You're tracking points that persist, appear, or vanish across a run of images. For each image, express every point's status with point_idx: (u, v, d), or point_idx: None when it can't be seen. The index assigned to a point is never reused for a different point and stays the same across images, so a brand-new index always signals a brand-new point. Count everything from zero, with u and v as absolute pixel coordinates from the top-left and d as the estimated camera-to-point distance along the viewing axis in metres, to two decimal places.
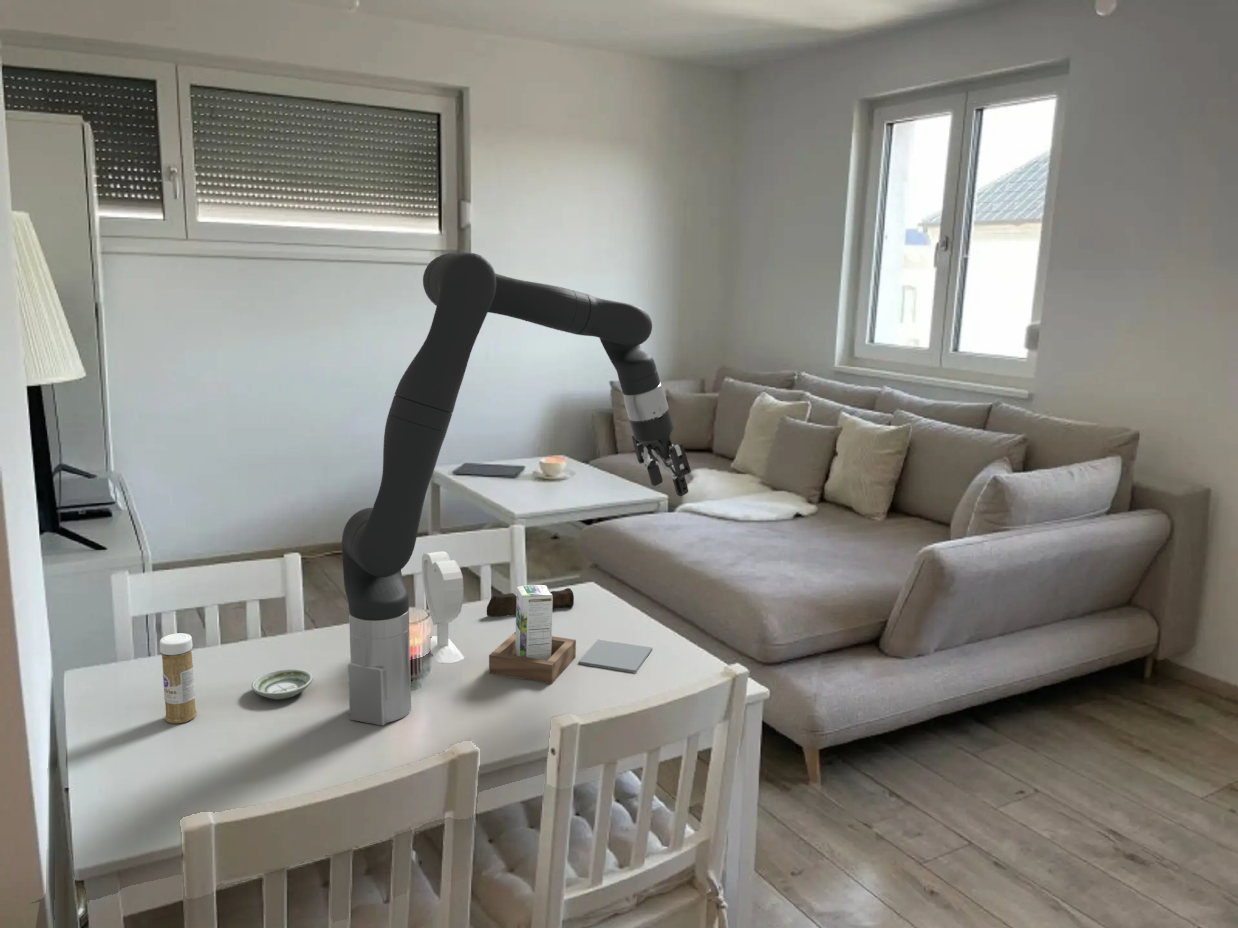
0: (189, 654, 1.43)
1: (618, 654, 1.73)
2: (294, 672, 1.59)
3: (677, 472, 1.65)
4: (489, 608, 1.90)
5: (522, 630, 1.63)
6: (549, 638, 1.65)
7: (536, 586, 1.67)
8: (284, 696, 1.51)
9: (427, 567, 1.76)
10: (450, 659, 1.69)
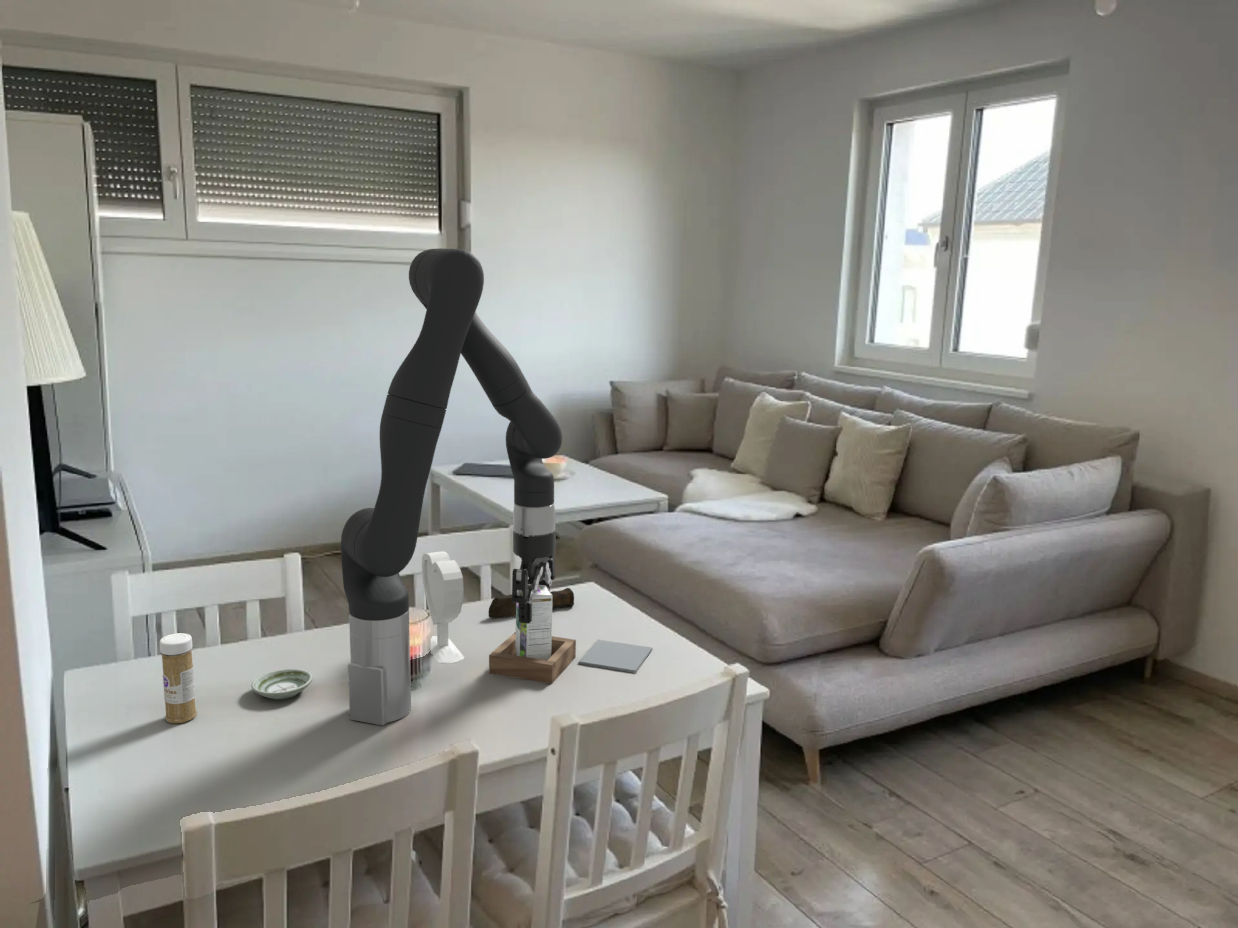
0: (189, 654, 1.43)
1: (618, 654, 1.73)
2: (294, 672, 1.59)
3: None
4: (491, 610, 1.90)
5: (522, 630, 1.63)
6: (549, 638, 1.65)
7: None
8: (284, 696, 1.51)
9: (427, 567, 1.76)
10: (450, 659, 1.69)
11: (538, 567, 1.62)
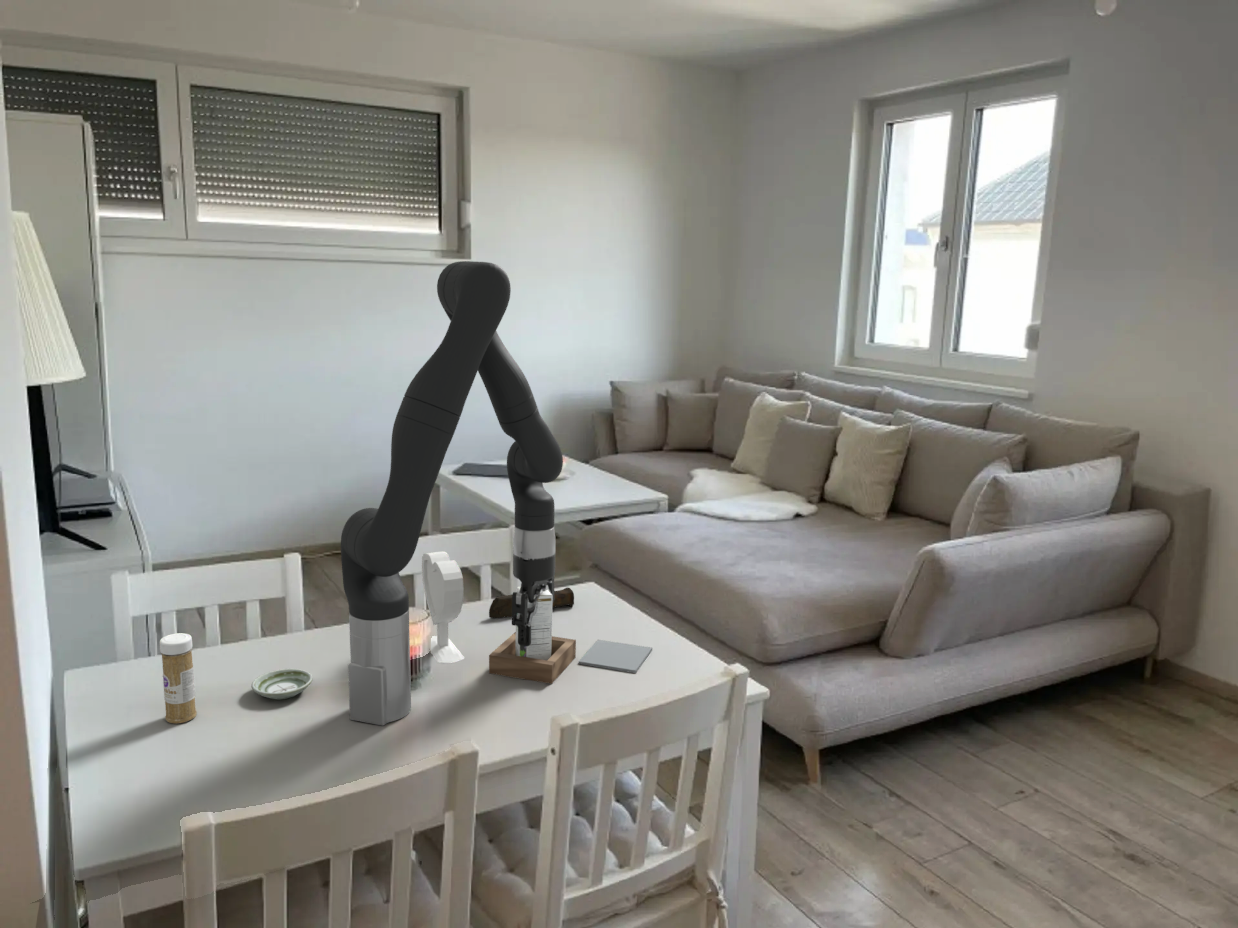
0: (189, 654, 1.43)
1: (618, 654, 1.73)
2: (294, 672, 1.59)
3: None
4: (492, 610, 1.89)
5: None
6: (549, 638, 1.65)
7: None
8: (284, 696, 1.51)
9: (427, 567, 1.76)
10: (450, 659, 1.69)
11: (538, 590, 1.63)
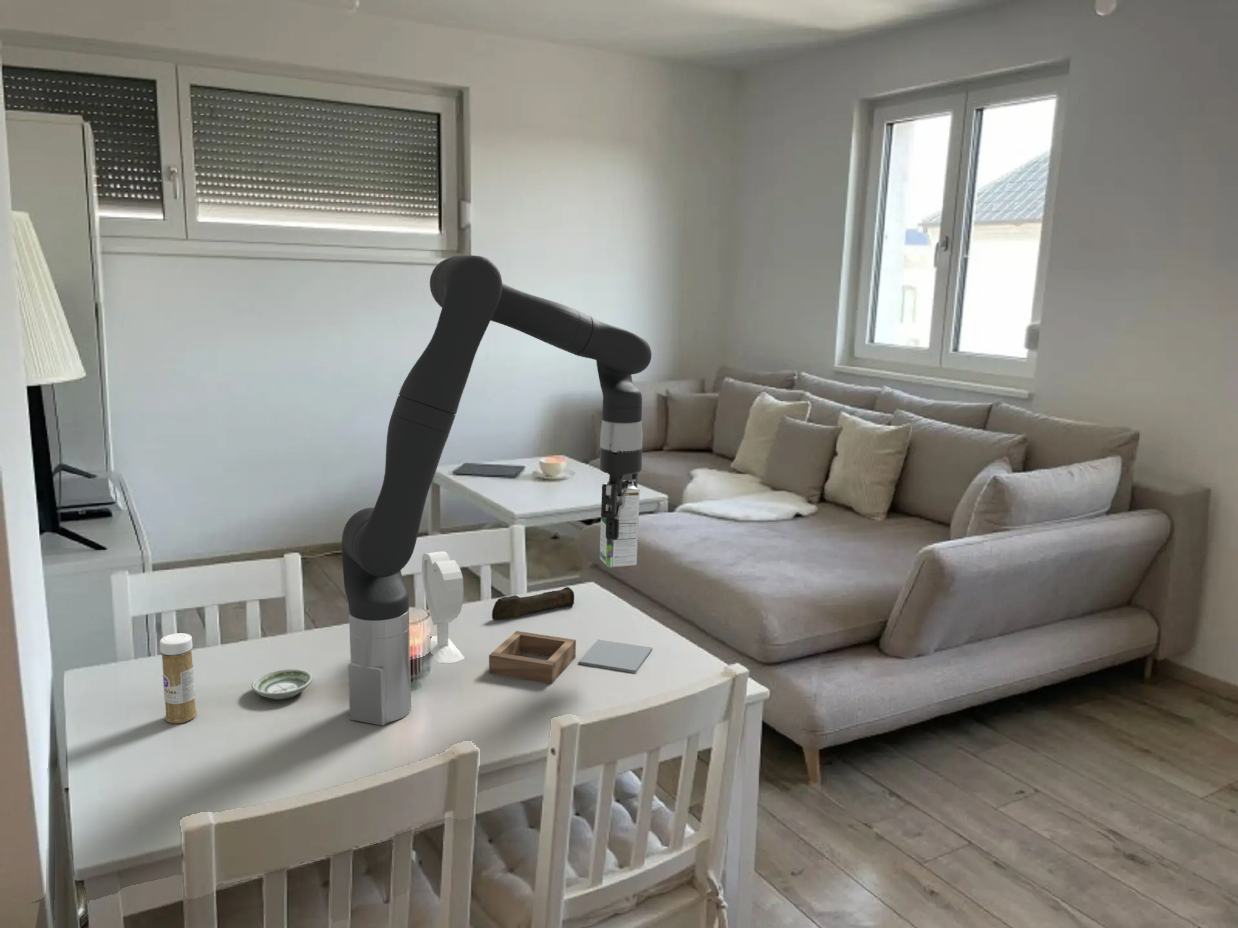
0: (189, 654, 1.43)
1: (618, 654, 1.73)
2: (294, 672, 1.59)
3: None
4: (495, 612, 1.88)
5: None
6: (636, 533, 1.66)
7: None
8: (284, 696, 1.51)
9: (427, 567, 1.76)
10: (450, 659, 1.69)
11: (625, 484, 1.64)
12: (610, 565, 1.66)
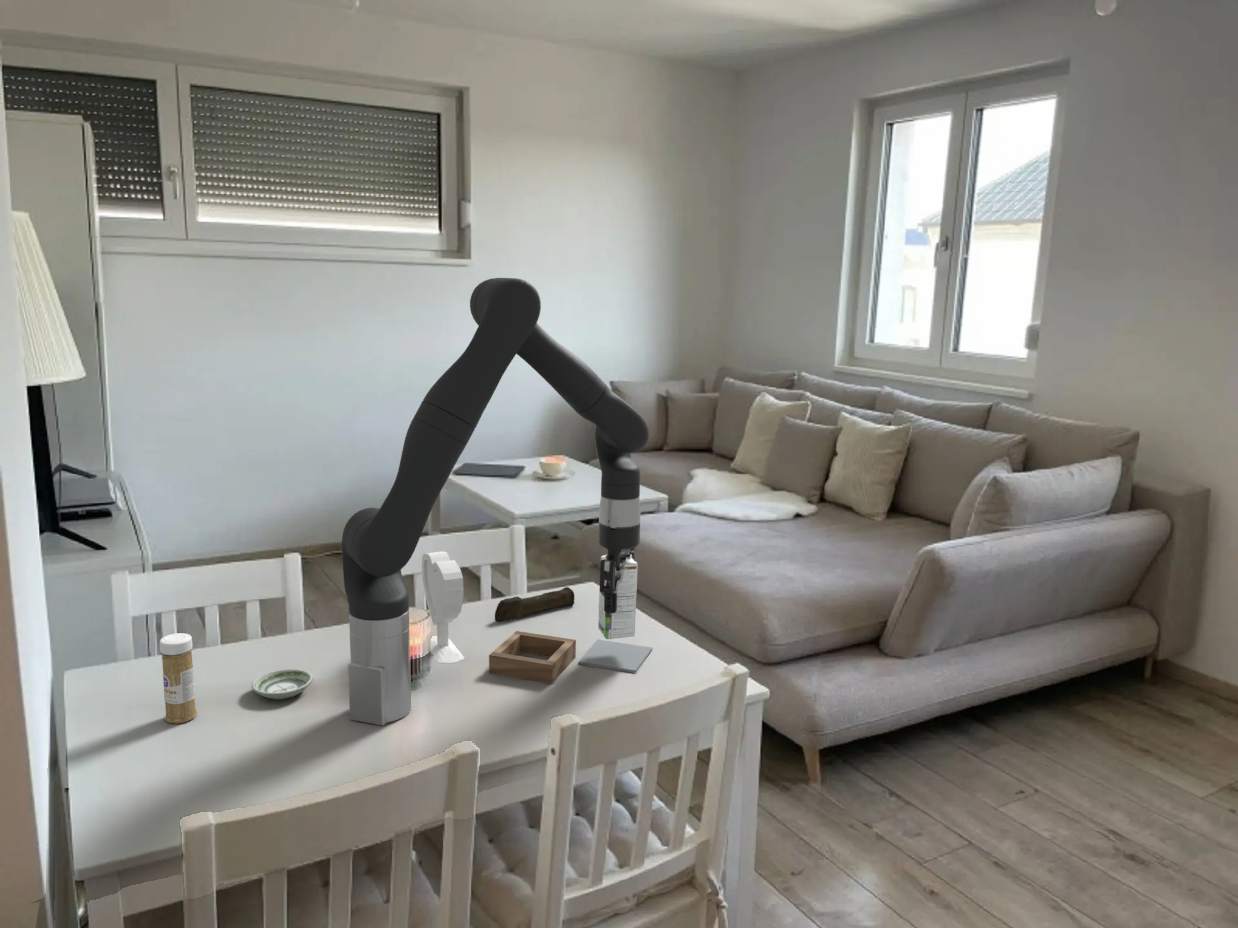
0: (189, 654, 1.43)
1: (618, 654, 1.73)
2: (294, 672, 1.59)
3: None
4: (497, 613, 1.88)
5: None
6: (634, 606, 1.69)
7: None
8: (284, 696, 1.51)
9: (427, 567, 1.76)
10: (450, 659, 1.69)
11: (623, 558, 1.67)
12: (608, 637, 1.68)
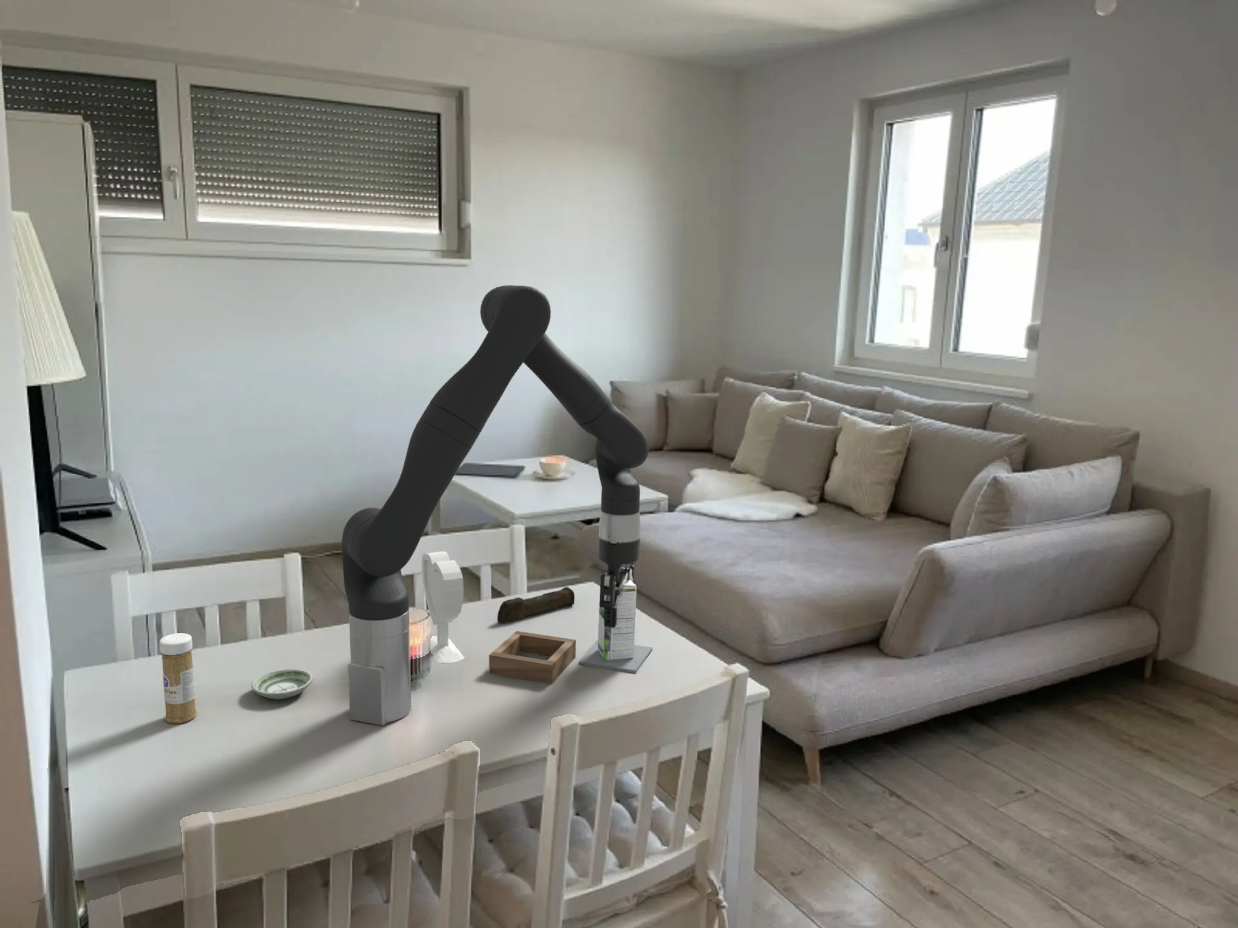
0: (189, 654, 1.43)
1: None
2: (294, 672, 1.59)
3: None
4: (500, 615, 1.87)
5: None
6: (633, 628, 1.70)
7: None
8: (284, 696, 1.51)
9: (427, 567, 1.76)
10: (450, 659, 1.69)
11: (623, 573, 1.67)
12: (607, 659, 1.69)
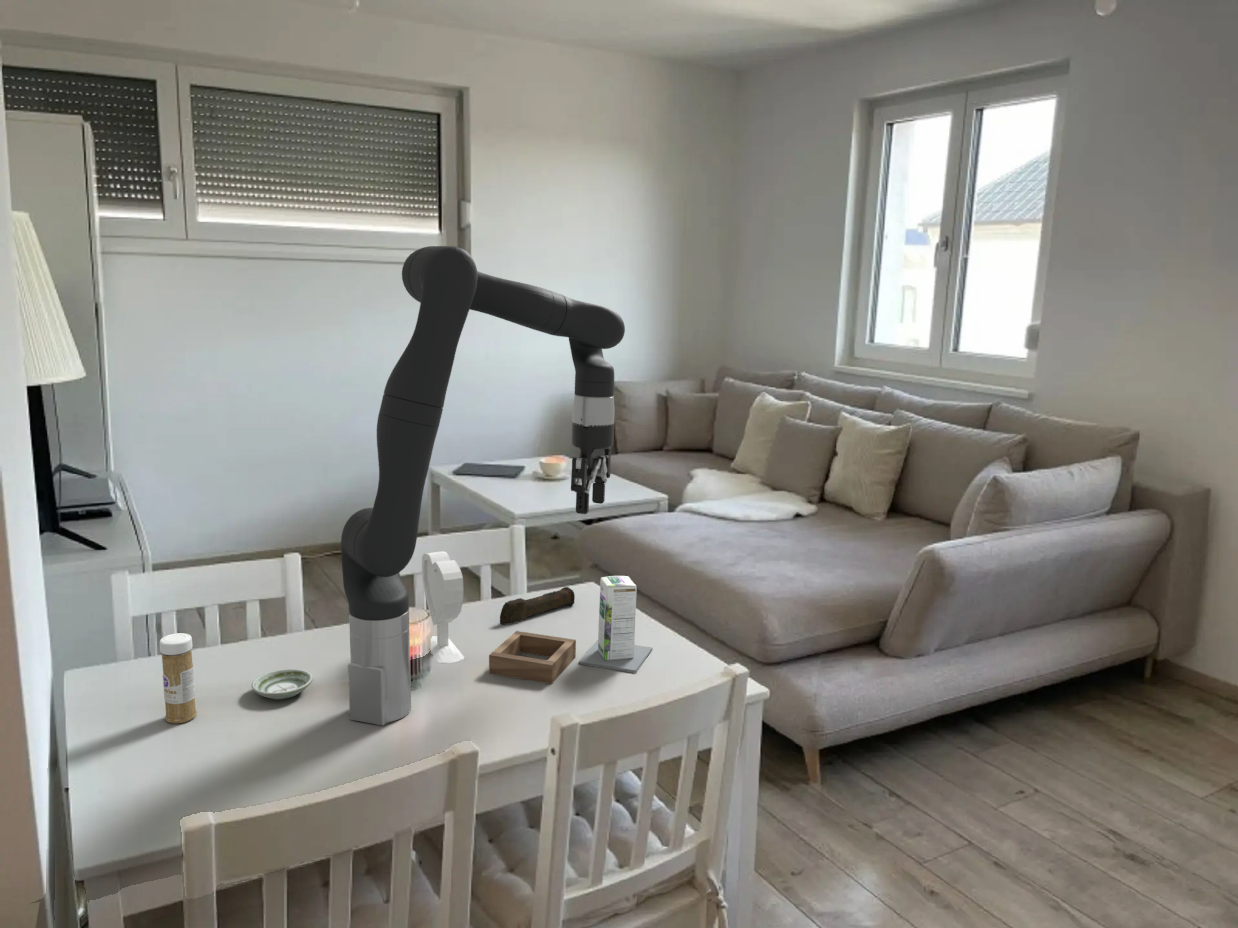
0: (189, 654, 1.43)
1: None
2: (294, 672, 1.59)
3: None
4: (503, 616, 1.86)
5: (607, 619, 1.68)
6: (633, 628, 1.70)
7: (619, 577, 1.72)
8: (284, 696, 1.51)
9: (427, 567, 1.76)
10: (450, 659, 1.69)
11: (596, 459, 1.65)
12: (607, 659, 1.69)
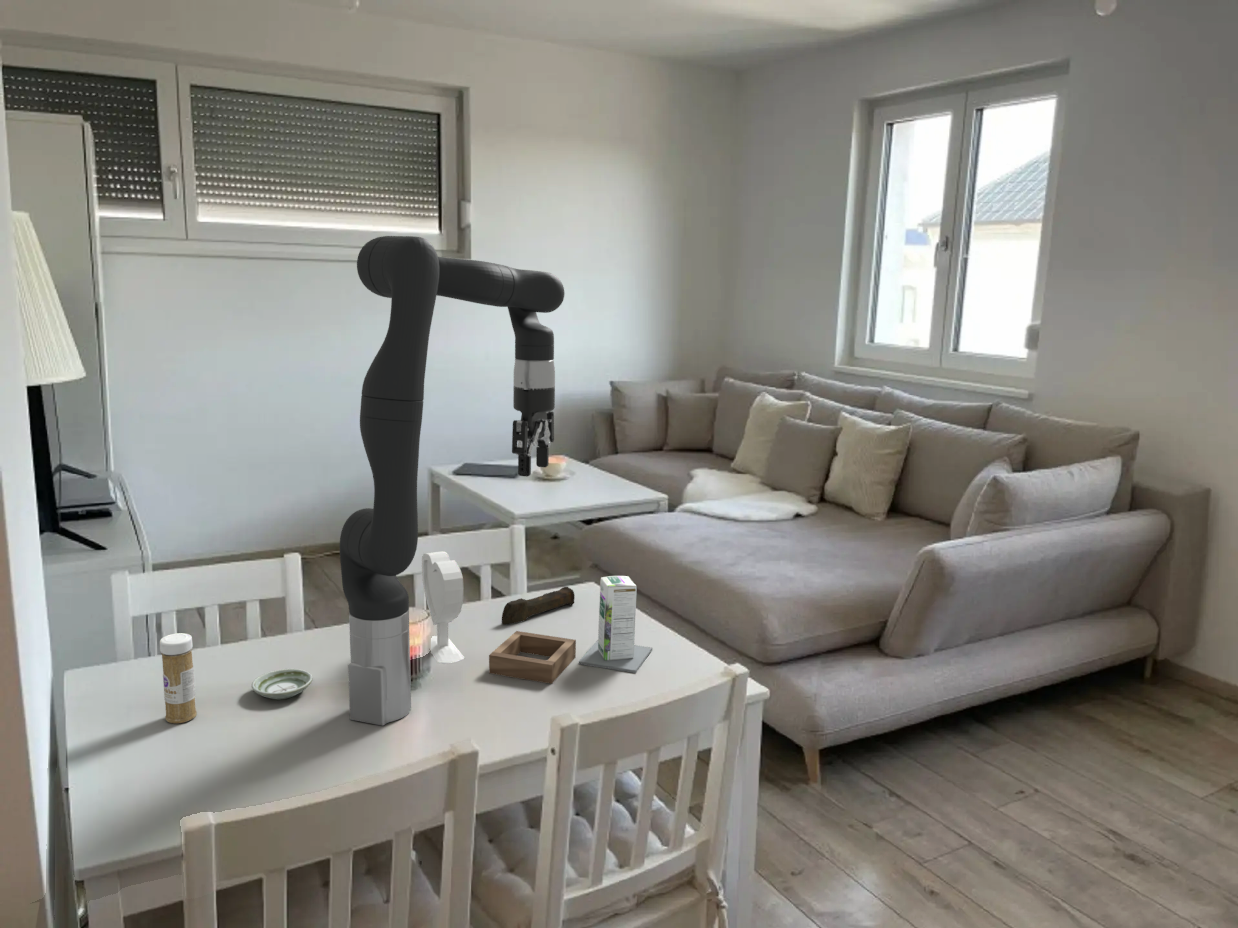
0: (189, 654, 1.43)
1: None
2: (294, 672, 1.59)
3: None
4: (505, 616, 1.86)
5: (607, 619, 1.68)
6: (633, 628, 1.70)
7: (619, 577, 1.72)
8: (284, 696, 1.51)
9: (427, 567, 1.76)
10: (450, 659, 1.69)
11: (538, 422, 1.67)
12: (607, 659, 1.69)
